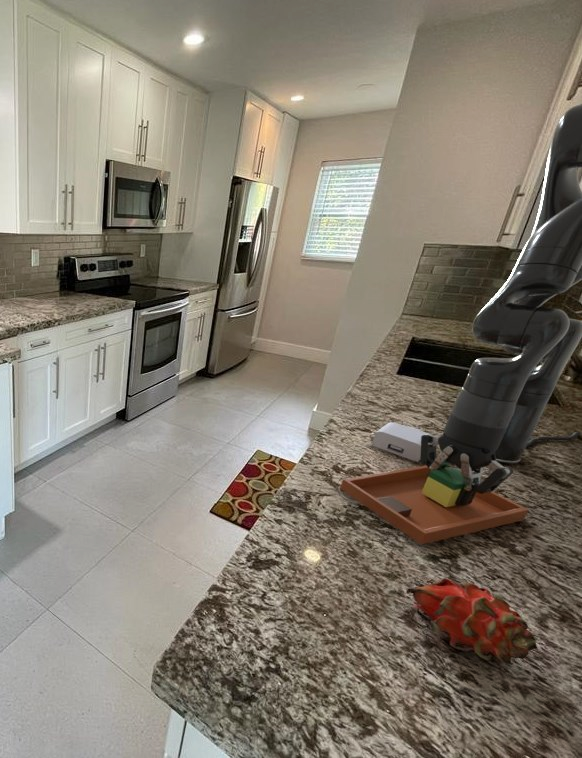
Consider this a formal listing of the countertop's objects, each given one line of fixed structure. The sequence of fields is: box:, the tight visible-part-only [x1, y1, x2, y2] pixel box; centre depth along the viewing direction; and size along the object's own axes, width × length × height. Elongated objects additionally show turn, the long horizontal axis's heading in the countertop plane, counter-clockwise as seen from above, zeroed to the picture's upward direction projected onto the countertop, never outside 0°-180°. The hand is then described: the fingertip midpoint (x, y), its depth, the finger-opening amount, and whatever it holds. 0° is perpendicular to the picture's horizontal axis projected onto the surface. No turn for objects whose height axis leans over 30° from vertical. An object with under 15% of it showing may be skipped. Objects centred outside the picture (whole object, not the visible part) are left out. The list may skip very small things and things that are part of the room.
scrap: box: [378, 496, 412, 517], centre depth 75 cm, size 4×4×2 cm
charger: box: [371, 421, 430, 463], centre depth 99 cm, size 5×9×15 cm
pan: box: [339, 465, 530, 545], centre depth 78 cm, size 26×16×3 cm, turn 106°
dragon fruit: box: [405, 577, 538, 666], centre depth 51 cm, size 8×8×12 cm
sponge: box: [422, 466, 463, 507], centre depth 78 cm, size 6×4×5 cm
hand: (445, 496), depth 79 cm, fingers closed on sponge, 4 cm apart
